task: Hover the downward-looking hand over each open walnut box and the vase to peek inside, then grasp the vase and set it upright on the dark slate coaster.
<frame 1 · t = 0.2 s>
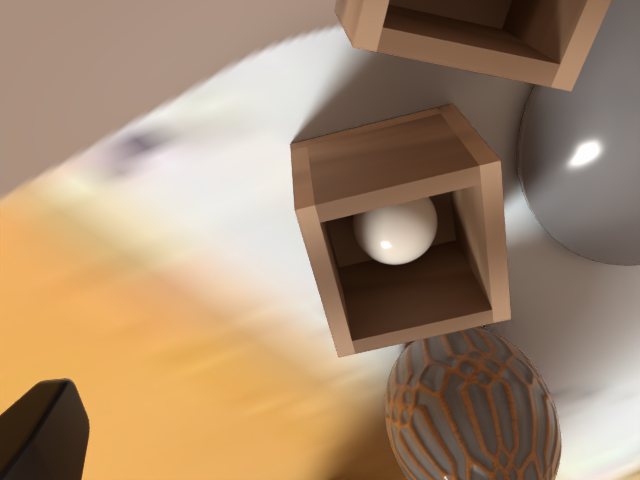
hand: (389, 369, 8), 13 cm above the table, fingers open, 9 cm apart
box a: (384, 195, 22), on the table
vase: (445, 355, 27), on the table
ball: (387, 202, 21), point 1 cm above the table, touching box a
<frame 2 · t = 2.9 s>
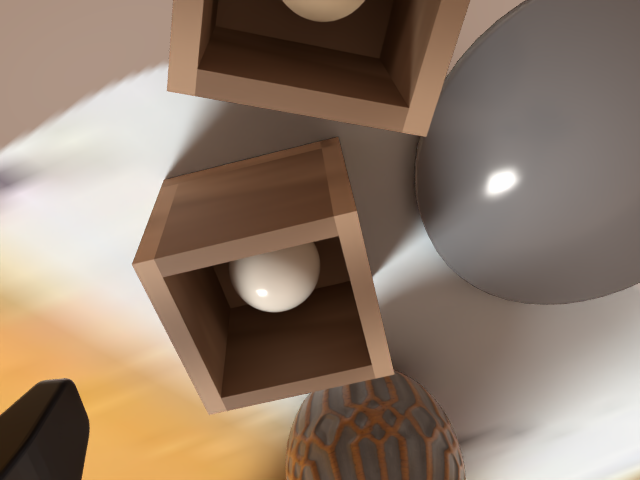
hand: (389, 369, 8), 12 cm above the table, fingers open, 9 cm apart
box a: (274, 232, 20), on the table
coaster: (586, 157, 20), on the table
vase: (361, 394, 25), on the table
ball: (274, 241, 20), point 1 cm above the table, touching box a
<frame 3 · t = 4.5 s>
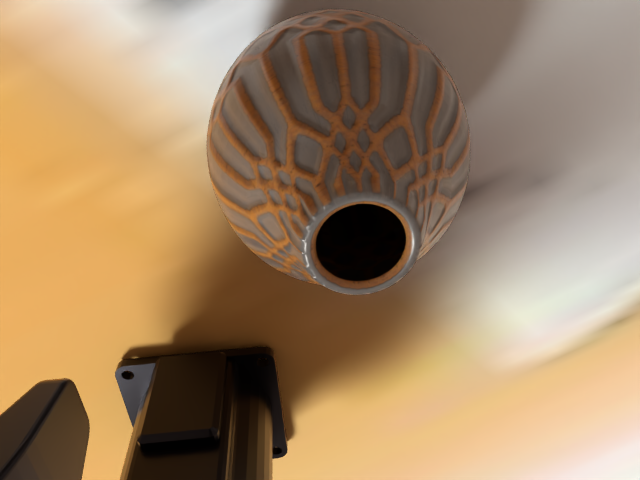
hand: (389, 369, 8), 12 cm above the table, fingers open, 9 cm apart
vase: (325, 104, 19), on the table
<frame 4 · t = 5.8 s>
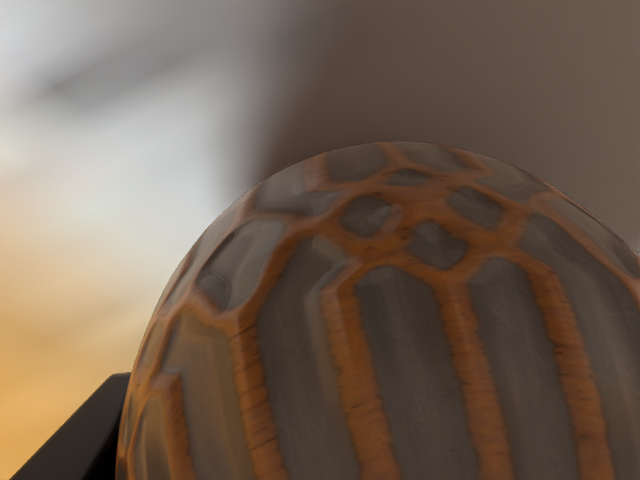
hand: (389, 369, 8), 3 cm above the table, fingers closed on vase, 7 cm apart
vase: (363, 265, 11), on the table, touching gripper
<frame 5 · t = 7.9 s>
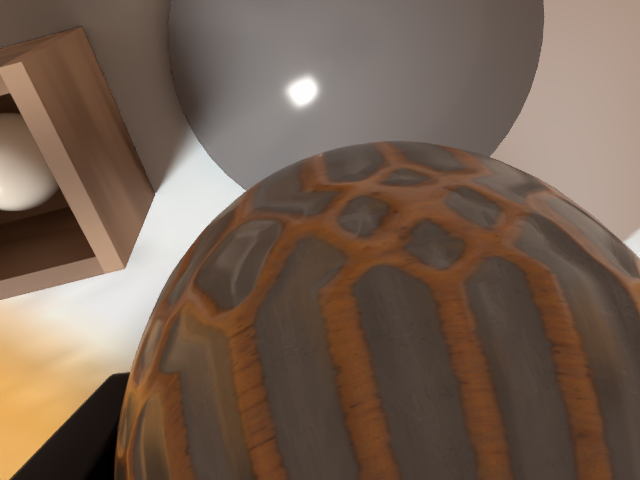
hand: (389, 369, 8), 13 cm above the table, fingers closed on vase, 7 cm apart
box a: (37, 139, 19), on the table
coaster: (356, 53, 19), on the table
vase: (362, 264, 11), point 10 cm above the table, touching gripper
ball: (31, 145, 19), point 1 cm above the table, touching box a
when the fingers open (4 cm above the table, at t = 10.2 s): vase stays where it is, resting on coaster.
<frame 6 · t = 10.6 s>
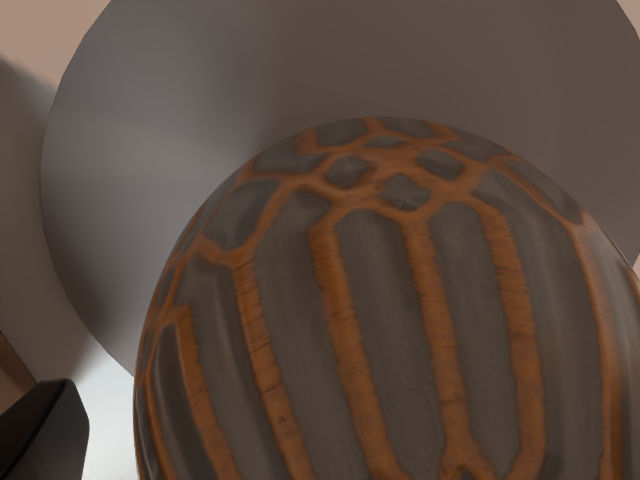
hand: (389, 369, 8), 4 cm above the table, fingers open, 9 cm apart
coaster: (355, 225, 12), on the table
vase: (354, 237, 11), resting on coaster
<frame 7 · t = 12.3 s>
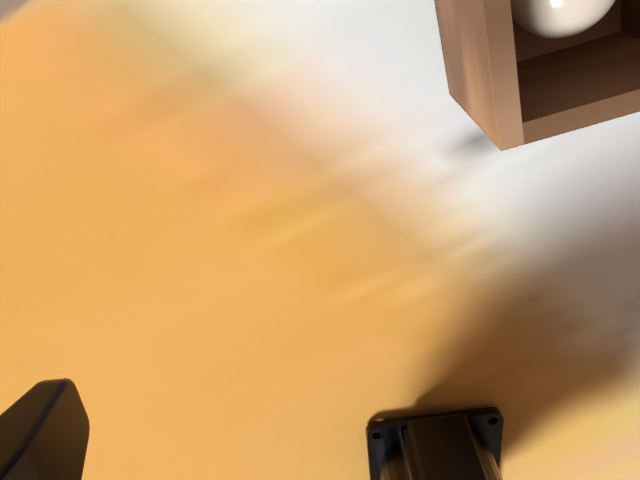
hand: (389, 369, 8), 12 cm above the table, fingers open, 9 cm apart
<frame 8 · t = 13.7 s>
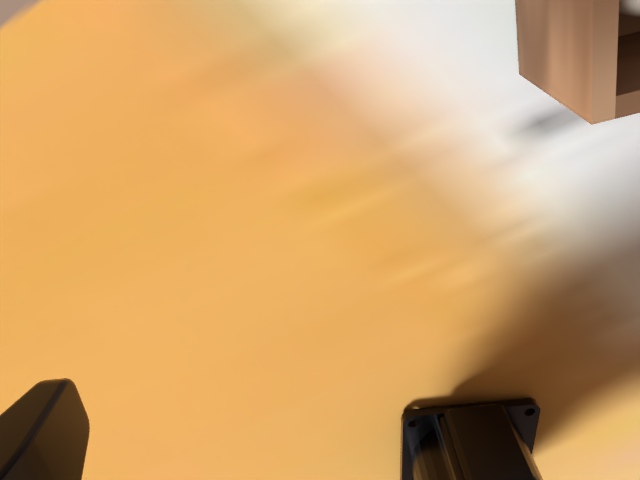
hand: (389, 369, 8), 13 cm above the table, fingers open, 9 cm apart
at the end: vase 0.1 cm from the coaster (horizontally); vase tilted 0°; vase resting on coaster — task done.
